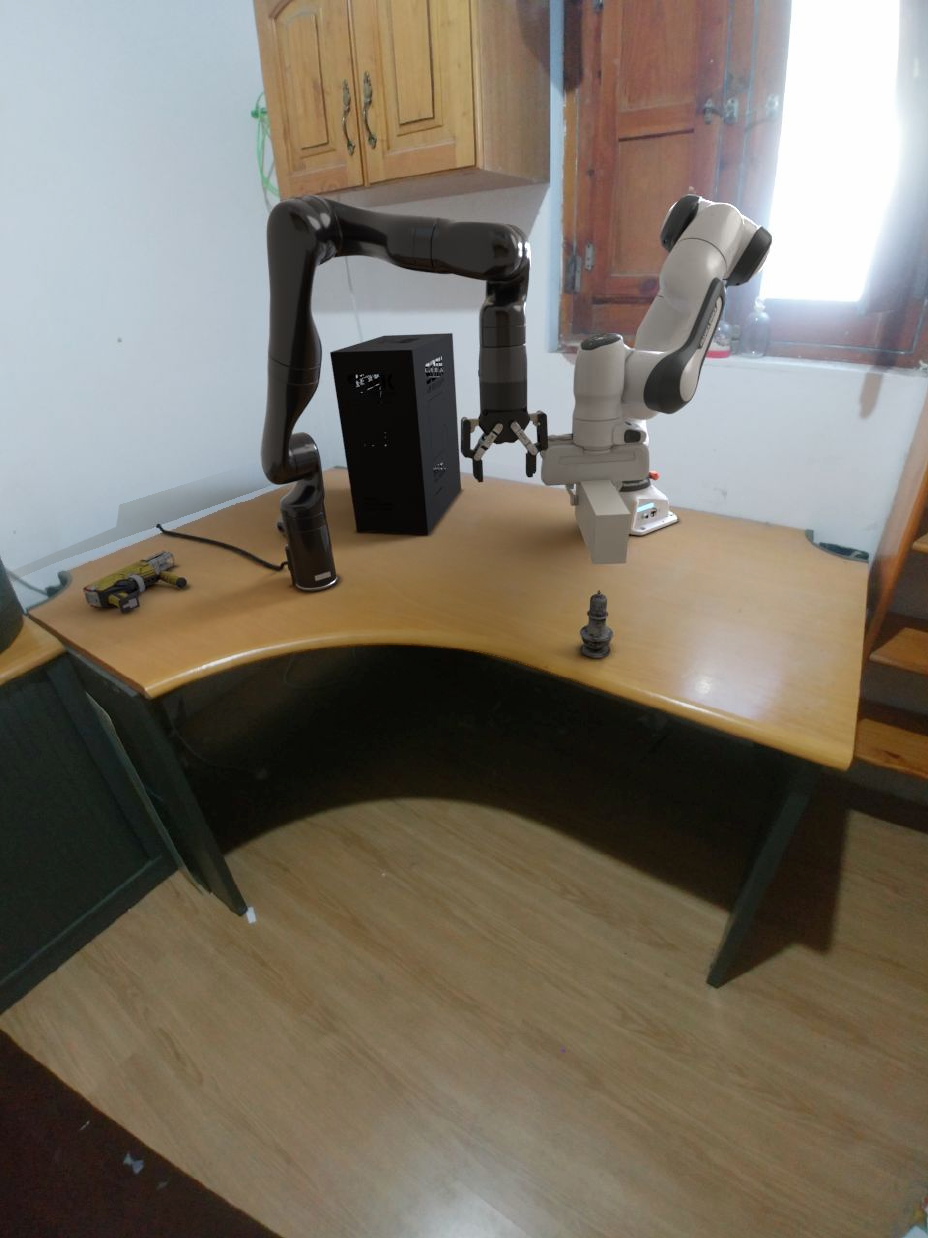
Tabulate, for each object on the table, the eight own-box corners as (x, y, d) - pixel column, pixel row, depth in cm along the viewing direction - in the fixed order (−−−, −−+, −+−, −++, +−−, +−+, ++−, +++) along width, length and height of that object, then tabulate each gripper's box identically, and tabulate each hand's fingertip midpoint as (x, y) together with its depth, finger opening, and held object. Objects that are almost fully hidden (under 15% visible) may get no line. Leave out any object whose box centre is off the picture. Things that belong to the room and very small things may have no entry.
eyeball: (273, 537, 164) (268, 516, 161) (287, 528, 169) (282, 508, 166) (291, 539, 161) (286, 518, 158) (305, 530, 166) (301, 510, 163)
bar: (574, 515, 123) (576, 472, 119) (602, 513, 123) (604, 470, 119) (593, 564, 103) (595, 515, 98) (626, 563, 102) (630, 513, 98)
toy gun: (211, 559, 145) (160, 548, 149) (132, 601, 125) (76, 587, 129) (214, 576, 147) (164, 565, 151) (137, 620, 127) (82, 606, 131)
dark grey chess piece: (612, 659, 105) (617, 599, 99) (577, 657, 106) (581, 597, 100) (611, 641, 110) (616, 582, 104) (579, 639, 111) (582, 581, 105)
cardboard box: (428, 534, 159) (412, 349, 137) (356, 531, 164) (329, 352, 141) (461, 489, 191) (452, 333, 168) (400, 488, 195) (384, 335, 173)
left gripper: (462, 383, 90) (467, 489, 98) (554, 376, 91) (552, 480, 99) (454, 376, 96) (459, 476, 104) (540, 369, 98) (539, 468, 106)
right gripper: (542, 439, 109) (541, 512, 116) (655, 432, 108) (648, 505, 115) (537, 431, 114) (537, 501, 121) (646, 424, 114) (639, 495, 121)
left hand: (504, 478), depth 102 cm, fingers open, 8 cm apart
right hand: (592, 503), depth 118 cm, fingers closed on bar, 5 cm apart
